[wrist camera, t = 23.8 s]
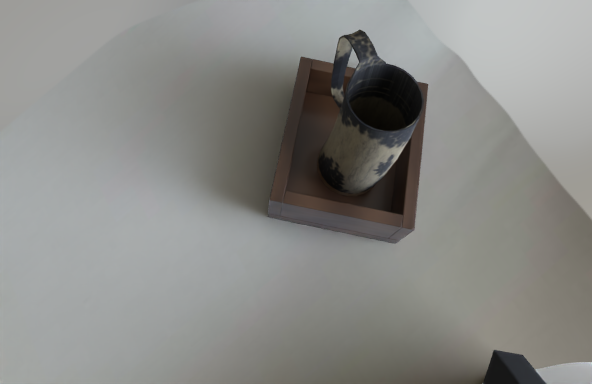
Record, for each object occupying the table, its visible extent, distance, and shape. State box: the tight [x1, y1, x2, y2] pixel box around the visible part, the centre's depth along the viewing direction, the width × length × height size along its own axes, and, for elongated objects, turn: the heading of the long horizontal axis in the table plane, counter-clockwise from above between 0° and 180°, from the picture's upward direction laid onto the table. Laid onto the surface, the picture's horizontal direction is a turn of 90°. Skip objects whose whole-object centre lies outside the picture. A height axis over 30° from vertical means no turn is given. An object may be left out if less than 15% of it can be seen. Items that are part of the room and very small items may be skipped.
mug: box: [317, 30, 424, 196], centre depth 32 cm, size 8×6×12 cm
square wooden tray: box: [268, 57, 428, 243], centre depth 37 cm, size 11×13×4 cm
